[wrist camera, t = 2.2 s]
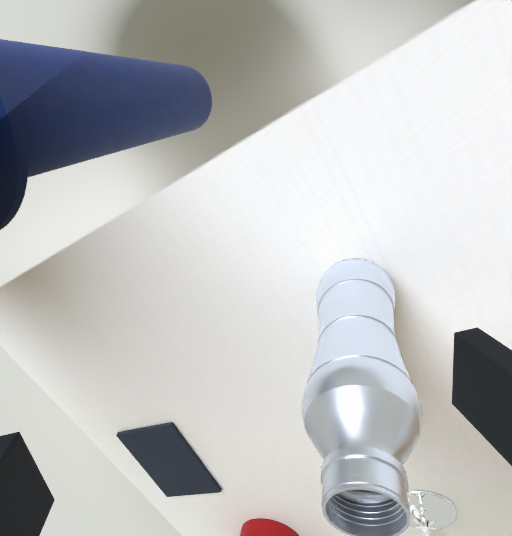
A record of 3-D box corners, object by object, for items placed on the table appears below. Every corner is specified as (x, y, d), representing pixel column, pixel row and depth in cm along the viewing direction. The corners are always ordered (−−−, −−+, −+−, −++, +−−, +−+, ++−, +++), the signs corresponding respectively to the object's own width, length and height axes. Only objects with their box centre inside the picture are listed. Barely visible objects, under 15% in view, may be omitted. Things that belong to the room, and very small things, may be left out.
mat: (117, 432, 51) (116, 435, 50) (172, 422, 47) (170, 425, 46) (168, 493, 55) (166, 496, 55) (221, 488, 51) (220, 492, 51)
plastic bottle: (406, 269, 30) (491, 511, 13) (366, 324, 34) (390, 576, 16) (339, 238, 30) (333, 437, 13) (305, 296, 34) (265, 517, 16)
